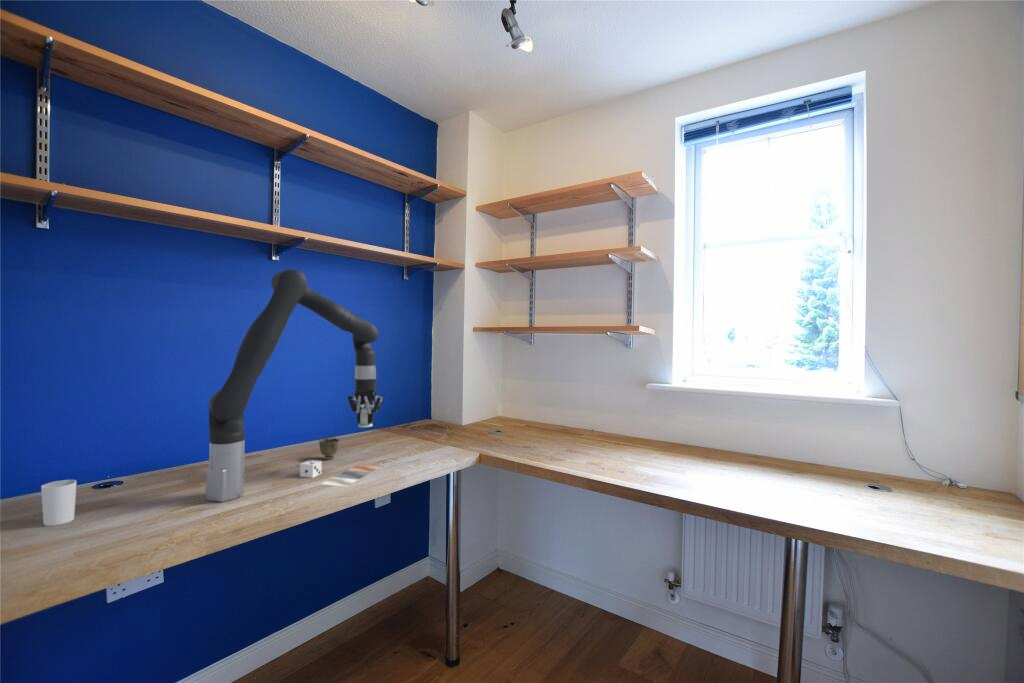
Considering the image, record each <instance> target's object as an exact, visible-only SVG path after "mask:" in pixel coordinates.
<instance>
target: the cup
mask: <svg viewBox="0 0 1024 683" xmlns="http://www.w3.org/2000/svg"><path fill="white" fill-rule="evenodd" d="M318 442H319V450H320V454H321V455H322V456H323V459H324V460H326V461H329V460H333V459H334V457H335V454H337V451H338V448H339V442H340V439H339V438H336V437H333V438H332V437H329V438H328V437H325V438H322V439H319V440H318Z"/></svg>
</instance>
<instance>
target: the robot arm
mask: <svg viewBox="0 0 1024 683" xmlns="http://www.w3.org/2000/svg"><path fill="white" fill-rule="evenodd" d="M306 277H307V276H306V275H305V274H304V273H303V272H302V271H300V270H297V269H293V268H292V269H290V268H289V269H284V270H280V271H278V272H276V273H275V274H273V276H272V278H271V288H272V289H273V293H272V295H271V297H270V300H269V301H268V303H267V305H266V306H265V308H264V309H263V310H262V311H261V312H260V314H258V316H257V317H256V319H255V320H254V321H253V322H251V323H252V324H250V326H249V328H248V329H247V331H246V333H245V335H244V337H243V339H242V341H241V343H240V346H239V348H238V351H237V353H236V357H235V361H234V364H233V367H232V370H231V372H230V374H229V375H228V377H227V379H226V381H225V383H224V384H223V385H222V387H221V389H218V390H217V391H215V392H214V393H213V394H212V395H211V397H210V399H209V404H208V405H209V406H208V434H209V445H208V446H209V449H208V450H209V451H208V452H209V453H208V455H209V460H208V462H209V463H208V465H209V466H208V468H206V470H205V474H206V475H205V477H206V478H205V501H211V502H221V503H224V502H227V501H230V500H236V499H238V498H240V497H242V496H244V494H245V449H246V448H245V446H246V445H245V441H246V440H245V439H246V430H245V421H244V420H245V417H244V416H245V414H244V413H245V411H246V408H247V406H248V404H249V403H248V402H249V400H250V398H251V395H252V392H253V389H254V387H255V385H256V383H257V381H258V379H259V377H260V376H261V374H262V372H263V370H264V368H266V365H267V364H268V362H269V360H270V359H271V357H272V355H273V353H274V351H275V349H276V348H277V345H278V343H279V341H280V338H281V337H282V334H283V332H284V331H285V329H286V325H287V323H288V321H289V319H290V316H291V314H292V313H293V310H294V309H295V308H296V306H297V305H298V304H299V305H301V306H302V307H305V308H306V309H308V310H310V311H312V312H313V313H315V314H317V315H318V316H320V317H321V318H323V319H324V320H325V321H327V322H329V323H330V324H332V325H333V326H335V327H336V328H338V329H340V330H341V331H344V332H348V333H350V334H352V342H353V343H352V344H353V348H354V352H355V368H354V369H355V370H354V390H355V392H354V394H353V395H349V396H347V399H348V403H349V405H350V409H351V411H352V412H354V413H356V422H357V424H360V412H361V409H362V408H363V407H367V408H368V413H369V414H368V424H371V423H372V424H373V422H374V421H375V413H377V412H379V411H380V409H381V406H382V403H383V401H384V397H383V396H380V395H377V392H376V390H377V369H376V368H377V367H376V351H375V350H373V349H372V344H371V343H374V342H376V341H377V340H378V338H379V335H380V334H379V330H378V328H377V327H376V325H374V324H373V323H371V322H369V321H367V320H366V319H363V318H361V317H359V316H357V315H355V314H354V313H353V312H351V311H350V310H348V309H347V308H345V307H344V306H342V305H341V304H338V303H337V302H335V301H333V300H332V299H329V298H327V297H324V296H322V295H321V294H318V293H317V292H316V291H314V290H313V289H311V288H310V287H309V286H308V279H307V278H306ZM374 401H375V403H374Z"/></svg>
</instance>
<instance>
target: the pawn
mask: <svg viewBox="0 0 1024 683" xmlns="http://www.w3.org/2000/svg"><path fill="white" fill-rule="evenodd" d="M368 414H369V413H368V408H367V407H366V406H364V407H363V408H362V409H361V412H360V423H357V427H358V428H371V427H373V426H374V425H373V423H371V424H368Z"/></svg>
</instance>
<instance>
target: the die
mask: <svg viewBox="0 0 1024 683" xmlns="http://www.w3.org/2000/svg"><path fill="white" fill-rule="evenodd" d="M322 463H323V462H322V460H313V459H309V460H307V461H303V462H302V463H300V464H299V470H300V471H299V477H300V478H312V479H313V478H315V477H318V476H319V475H322V468H323V467H322V465H323V464H322Z"/></svg>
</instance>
